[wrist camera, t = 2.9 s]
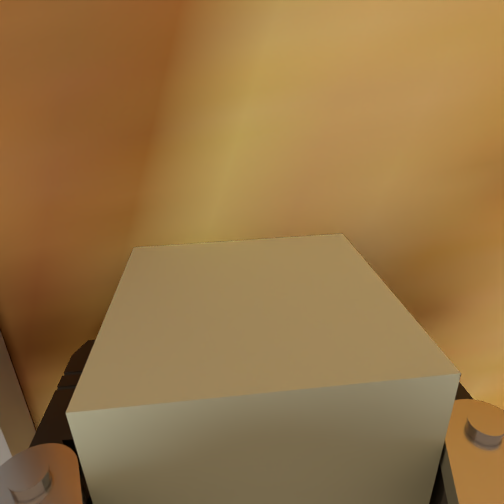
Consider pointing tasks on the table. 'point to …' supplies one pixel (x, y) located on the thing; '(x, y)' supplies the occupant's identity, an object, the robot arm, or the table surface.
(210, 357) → the sage cube
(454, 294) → the table surface
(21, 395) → the board
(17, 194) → the table surface
